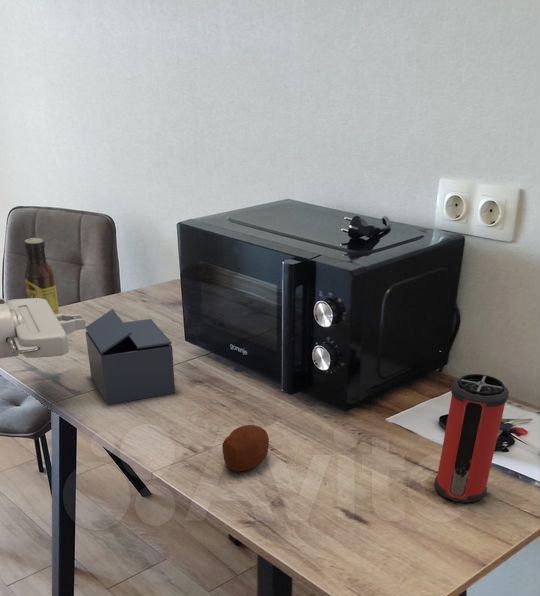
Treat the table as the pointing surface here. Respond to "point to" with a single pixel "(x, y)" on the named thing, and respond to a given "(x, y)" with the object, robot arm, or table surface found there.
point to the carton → (134, 364)
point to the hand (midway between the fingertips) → (83, 321)
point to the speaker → (470, 437)
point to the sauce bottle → (40, 274)
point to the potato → (245, 447)
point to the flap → (107, 331)
